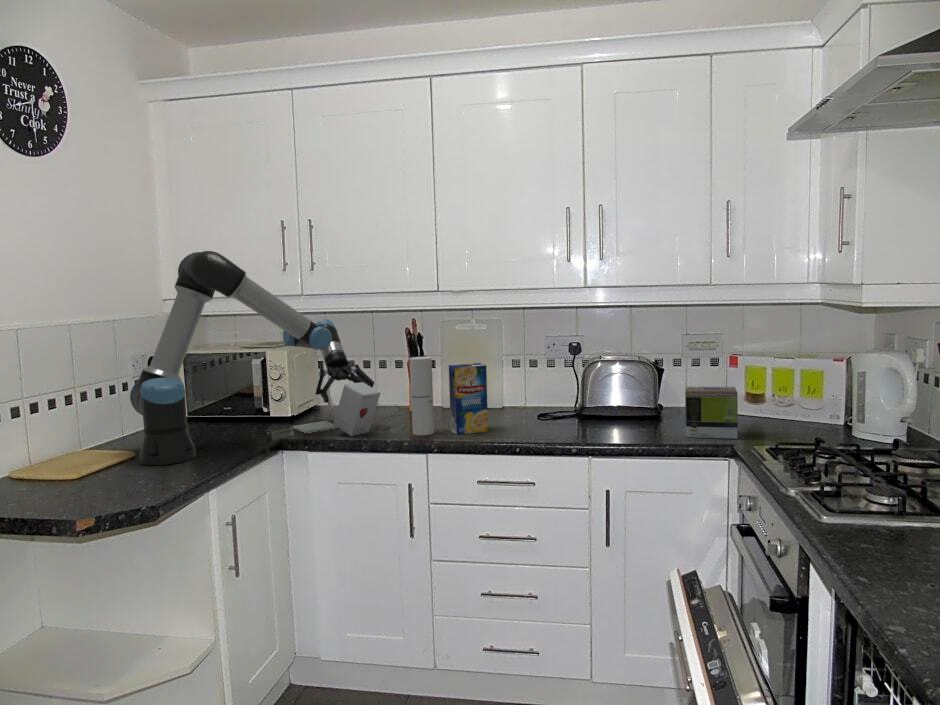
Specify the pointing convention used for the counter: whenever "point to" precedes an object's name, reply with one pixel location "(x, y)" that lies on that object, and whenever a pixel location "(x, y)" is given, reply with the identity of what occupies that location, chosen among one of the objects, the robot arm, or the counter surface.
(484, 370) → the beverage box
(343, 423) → the supplement box
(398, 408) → the counter surface
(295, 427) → the pad
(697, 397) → the tea box
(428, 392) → the cylindrical container
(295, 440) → the counter surface
